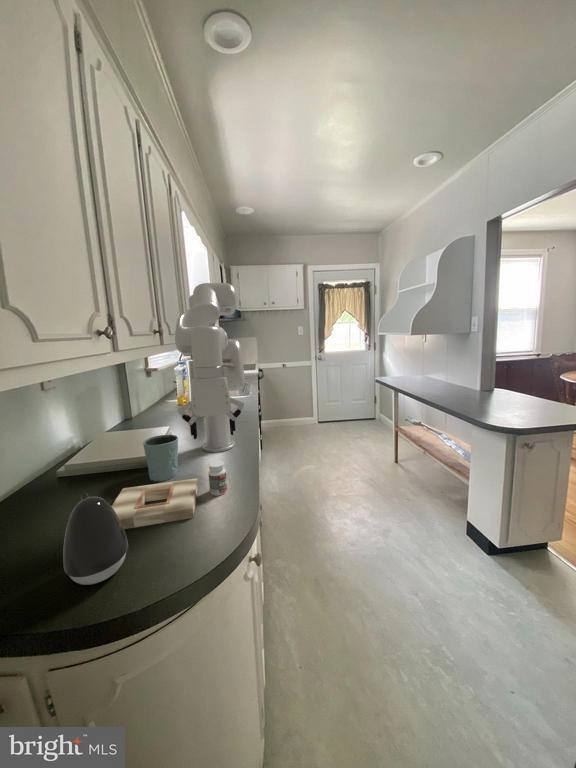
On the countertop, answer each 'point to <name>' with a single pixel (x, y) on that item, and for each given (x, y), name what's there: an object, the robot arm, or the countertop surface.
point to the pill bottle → (217, 478)
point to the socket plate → (139, 514)
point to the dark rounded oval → (93, 541)
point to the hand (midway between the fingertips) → (214, 435)
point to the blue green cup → (162, 457)
